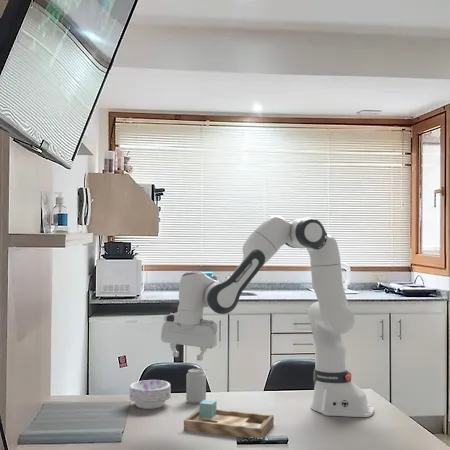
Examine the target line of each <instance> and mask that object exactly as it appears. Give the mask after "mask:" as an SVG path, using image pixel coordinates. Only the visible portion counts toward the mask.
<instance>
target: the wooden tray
mask: <svg viewBox="0 0 450 450" xmlns="http://www.w3.org/2000/svg"><path fill="white" fill-rule="evenodd" d="M274 417H275V416H274V415H273V414H263V413H255V412H254V413H253V412H245V411H236V410H235V411H234V410H227V409H217V408H216V415H215V416H214V417H212V418H207V417H199V409H198V410H196V411H194V412H193V413H192V414H190V415H189V416H188V417H186V418H185V419H183V430H184V431H186V432H188V431H189V432H193V433H194V432H195V433H203V434H212V435H219V436H226V437H228V436H229V437H237V438H243V437H253V438H262V437H263V436H264V437H265V436H266V435H267V434H268V432H269V431H270V430H271V429H272V428H273V427H274V426H275V425H274V421H275V419H274ZM264 437H263V438H264Z"/></svg>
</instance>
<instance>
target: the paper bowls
mask: <svg viewBox="0 0 450 450" xmlns="http://www.w3.org/2000/svg"><path fill="white" fill-rule="evenodd" d="M171 390H172V389H171V383H170V382H168V381H166V380H162V379H161V380H160V379H148V380H147V379H145V380H138V381H135V382H132V383H131V384H130V385H129V400H130V401H132V402H134V404H135V406H136V407H137V408H139V409H144V410H154V409H159V408H161V407H162V406H164V405H165V403H166V401H167V400H169V399H171V396H172V395H171V394H172V393H171V392H172V391H171Z"/></svg>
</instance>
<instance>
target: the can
mask: <svg viewBox="0 0 450 450" xmlns="http://www.w3.org/2000/svg"><path fill="white" fill-rule="evenodd" d="M185 381H186V387H185V388H186V389H185V390H186V391H185V392H186V399H185V400H186V401H187V402H188V403H189V404H193V405H195V404H196V405H198V404H199V403H200V402H202V401H203V400H207V373H205V370H204V369H202V368H191V369H188V371H187V373H186V380H185Z"/></svg>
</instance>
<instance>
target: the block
mask: <svg viewBox="0 0 450 450" xmlns="http://www.w3.org/2000/svg"><path fill="white" fill-rule="evenodd" d="M216 409H217V400H213V399H211V400H210V399H206V400H203V401H202V402H200V403H199V406H198V410H199V417H207V418H212V417H214V416H215V415H216Z"/></svg>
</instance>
